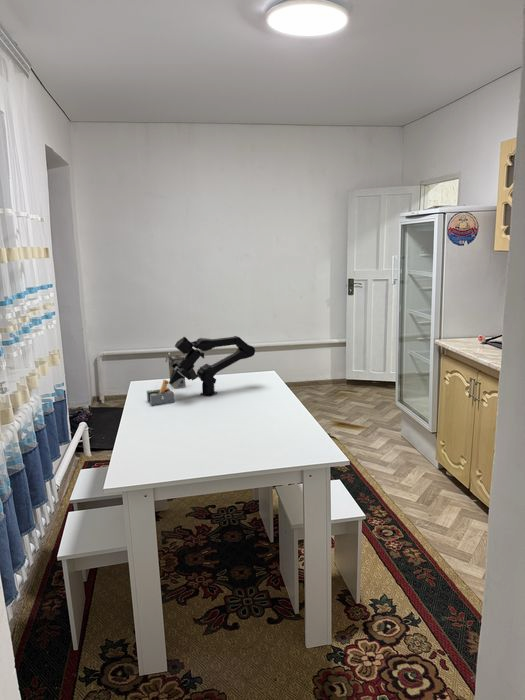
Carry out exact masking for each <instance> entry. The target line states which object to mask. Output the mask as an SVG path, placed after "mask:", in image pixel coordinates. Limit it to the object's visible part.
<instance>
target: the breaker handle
mask: <svg viewBox="0 0 525 700" xmlns="http://www.w3.org/2000/svg"><path fill="white" fill-rule="evenodd" d="M168 385H169V380H166V379H162V384H161V387H160V392H159V393H163V392H165V389H166V388H168V387H167V386H168Z"/></svg>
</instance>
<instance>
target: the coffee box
mask: <svg viewBox="0 0 525 700" xmlns="http://www.w3.org/2000/svg"><path fill="white" fill-rule="evenodd" d="M183 357H184V356H181V355H179V354H178V355H168V356H167V358H168V359H167V360H168V368H169V369H168V370H169V371H168V372H169V379H170V378H171V374H172V370H173V369H174V368H173V367H172V366H171V363H172V362H176V363H177V364H178V363H180V362H181V361H182V360H183V359H182V358H183ZM170 386H171V387H172V388H173V389H181V388H182V389H183V388H186V377H184V378H181V379H179V380H177V381H176V382H174V383H173V384H171V385H170Z"/></svg>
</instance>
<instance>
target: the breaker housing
mask: <svg viewBox="0 0 525 700" xmlns="http://www.w3.org/2000/svg"><path fill="white" fill-rule="evenodd" d="M160 389H161V388H160ZM160 389H153V390H152V389H151V390H147V391H146V401H147V402H148V403H149V405H150V404H151V405H152V406H151V405H150V406H151V407H156V406H161V405H167V404H168V405H169V404H174V403H175V394H174V392H173V391H172V390H171V389H170V388H169V387H166V389H165V392H163V393H159V392H160ZM155 405H156V406H155Z"/></svg>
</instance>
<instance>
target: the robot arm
mask: <svg viewBox="0 0 525 700" xmlns="http://www.w3.org/2000/svg"><path fill="white" fill-rule="evenodd" d="M234 345H235V346H236V347H237V349H236V351H235V352H233V353H231V354H229V355H227V356H226V357H225V358H222V359H221V360H219V361H216V362H215V363H213V364H211V365H210V364H209V363H205V364H203V365H202V366H199V368H198V369H197V371H195V369H194V367H195V363H197V361H198V360H199V359H200V357H201V358H202V359H205V353H204V352H207V351H210V350H213V349H215V348H219V347H228V346H234ZM174 348H175V349H177V350H178V351H179V352H181V353H182V355H185V354H186V355H185V356H182V357H183V358H182V359H183V360H182V361H181V362H180V363H178V364H177V363H176V362H172V363H171V366H172V367H173V368H174V369H173V370H172V374H171V378H170V377H169V380H168V382H169V383H168V385H170V386H171V384H173V383H174V382H176V381H177V380H179V379H181V378H184V377H185V379H187V380H189V381H191V380H192V381H195V380H196V379H198V378H199V379H200V381H201V382H202V383H201V385H202V387H201V388H202V389H201V391H202V392H201V393H200V395H201V396H206V397H207V396H208V397H212V396H213V395H216V394H218V391H215V388H216V387H215V384H216V382H217V379H216V378H215V376H216V374H217V373H219V372H220V371H223V370H224V369H226V368H228V367H230V366H232V365H233V364H235V363H236V362H239V361H240V360H241V361H242V360H244V359H245V360H246V359H249V358H252V357H253V356H254V355H255V352H256V349H255V347H254V346H252V345H251V344H248V343H247V342H246V341H244V340H243V339H242V338H241V337H240V336H237V335H234V336H228V337H221V338H205V337H199V338H197V339H196V340H194V341H190V340H189V339H188V338H187V337H186V336H183V337H182V338H180V339H179V340H178V341H176V343H175V345H174ZM201 351H202V352H201Z"/></svg>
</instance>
